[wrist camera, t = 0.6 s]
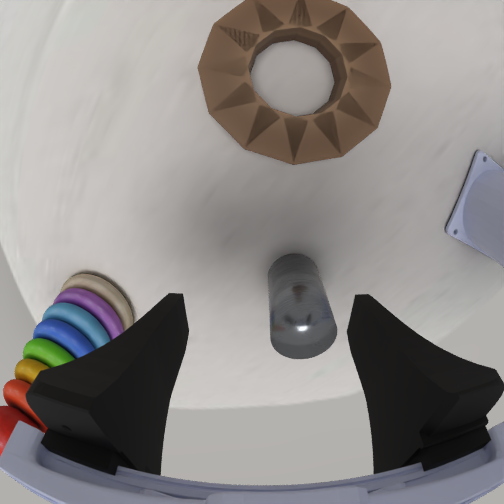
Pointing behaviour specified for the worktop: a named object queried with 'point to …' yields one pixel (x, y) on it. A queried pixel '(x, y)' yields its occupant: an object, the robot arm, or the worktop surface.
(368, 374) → the robot arm
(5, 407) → the stacking toy
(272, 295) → the steel peg
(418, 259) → the worktop surface
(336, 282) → the worktop surface
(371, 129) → the walnut bead
